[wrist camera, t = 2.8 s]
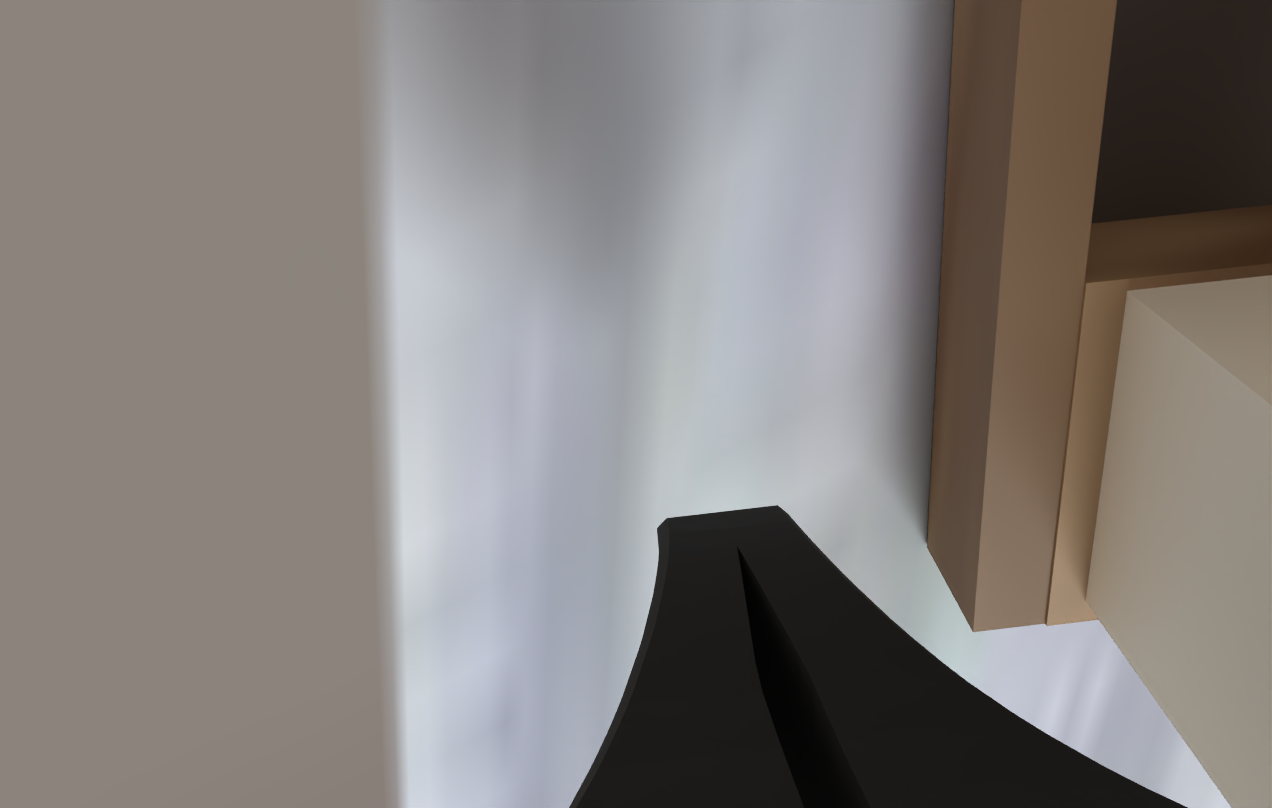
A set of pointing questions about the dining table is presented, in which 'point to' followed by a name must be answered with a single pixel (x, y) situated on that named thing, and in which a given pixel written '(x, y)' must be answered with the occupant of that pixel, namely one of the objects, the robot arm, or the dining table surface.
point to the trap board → (1075, 259)
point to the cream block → (1195, 520)
